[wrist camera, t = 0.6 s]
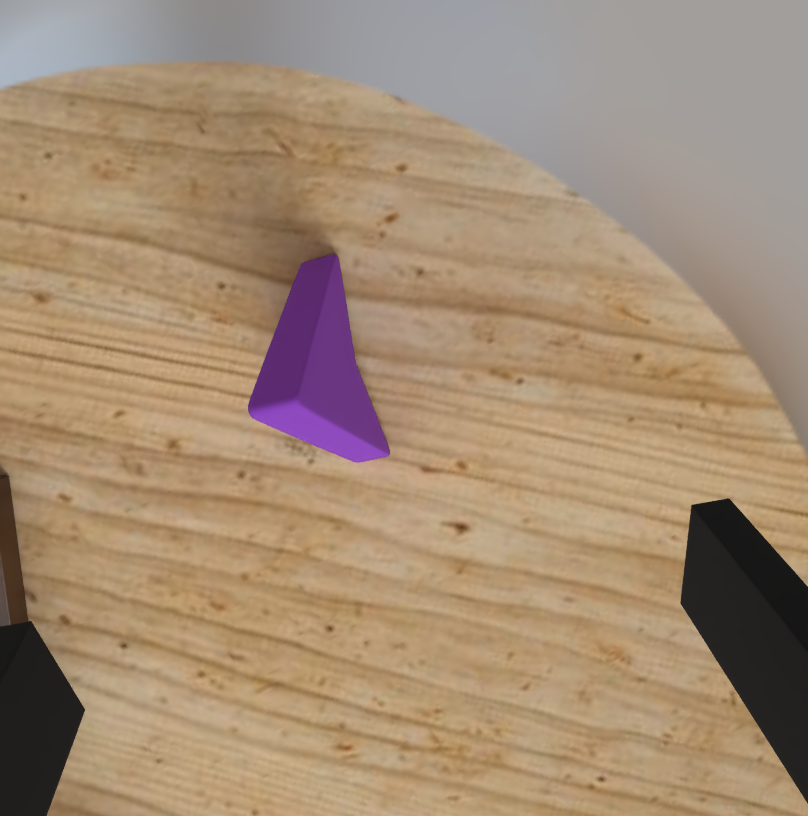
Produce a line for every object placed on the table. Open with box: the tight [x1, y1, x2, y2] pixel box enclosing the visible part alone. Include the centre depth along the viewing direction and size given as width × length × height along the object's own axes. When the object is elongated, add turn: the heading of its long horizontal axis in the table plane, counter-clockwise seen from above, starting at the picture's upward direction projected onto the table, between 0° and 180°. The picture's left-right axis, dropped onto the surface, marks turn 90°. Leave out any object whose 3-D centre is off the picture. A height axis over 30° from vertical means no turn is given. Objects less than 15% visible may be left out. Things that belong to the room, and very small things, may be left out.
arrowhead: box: [248, 254, 390, 462], centre depth 25 cm, size 10×2×10 cm
